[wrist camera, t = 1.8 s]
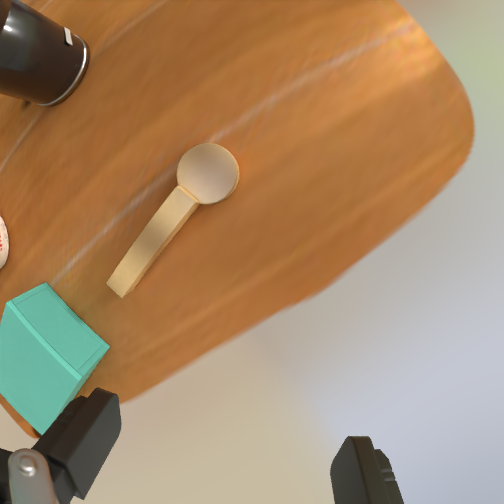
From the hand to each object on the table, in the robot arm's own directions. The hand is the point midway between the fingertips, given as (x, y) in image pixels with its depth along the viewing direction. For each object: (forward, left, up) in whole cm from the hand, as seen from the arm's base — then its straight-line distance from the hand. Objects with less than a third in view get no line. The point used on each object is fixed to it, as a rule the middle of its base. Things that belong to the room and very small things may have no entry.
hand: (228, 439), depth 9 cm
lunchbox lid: (-12, -28, -14) cm, 34 cm away
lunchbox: (-12, -28, -21) cm, 37 cm away
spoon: (-9, -2, -21) cm, 23 cm away
